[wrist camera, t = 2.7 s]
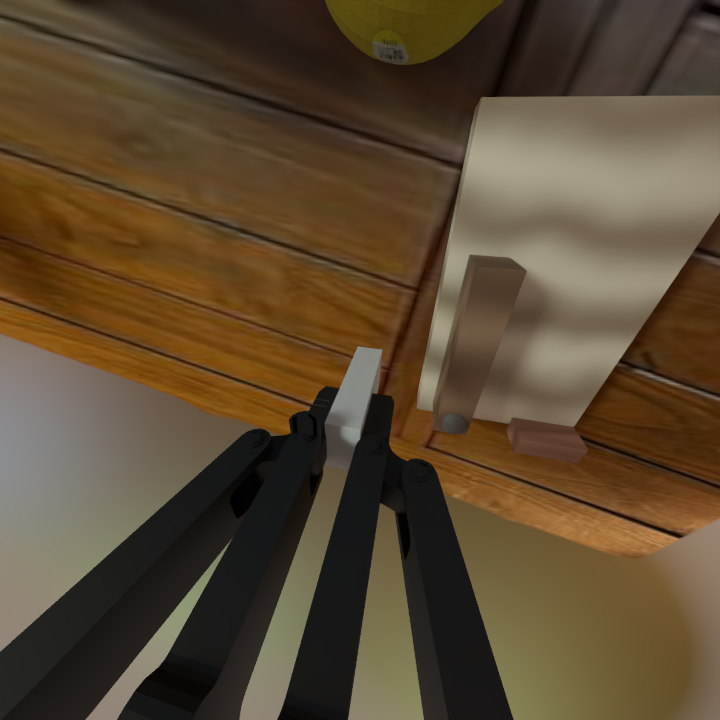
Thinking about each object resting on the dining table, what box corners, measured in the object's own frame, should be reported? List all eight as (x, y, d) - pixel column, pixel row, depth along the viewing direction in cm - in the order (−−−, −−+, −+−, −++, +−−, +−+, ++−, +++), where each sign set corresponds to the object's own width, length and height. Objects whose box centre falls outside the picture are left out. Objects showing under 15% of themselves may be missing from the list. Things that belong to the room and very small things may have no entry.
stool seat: (475, 107, 18) (492, 80, 14) (751, 107, 16) (881, 74, 11) (416, 401, 33) (414, 434, 29) (555, 423, 31) (578, 463, 26)
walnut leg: (460, 407, 29) (466, 440, 25) (432, 402, 29) (434, 434, 25) (510, 257, 20) (530, 273, 17) (469, 254, 21) (479, 268, 17)
